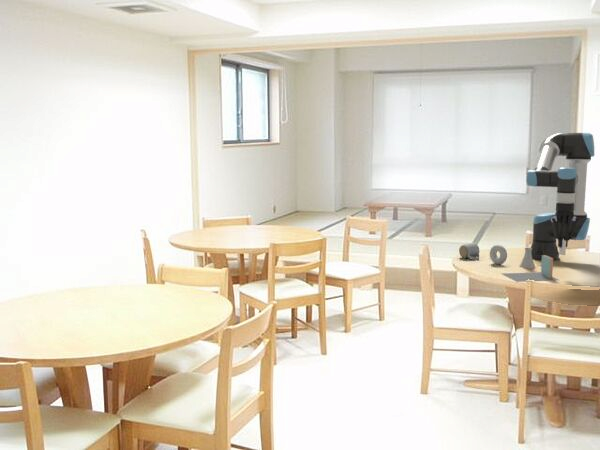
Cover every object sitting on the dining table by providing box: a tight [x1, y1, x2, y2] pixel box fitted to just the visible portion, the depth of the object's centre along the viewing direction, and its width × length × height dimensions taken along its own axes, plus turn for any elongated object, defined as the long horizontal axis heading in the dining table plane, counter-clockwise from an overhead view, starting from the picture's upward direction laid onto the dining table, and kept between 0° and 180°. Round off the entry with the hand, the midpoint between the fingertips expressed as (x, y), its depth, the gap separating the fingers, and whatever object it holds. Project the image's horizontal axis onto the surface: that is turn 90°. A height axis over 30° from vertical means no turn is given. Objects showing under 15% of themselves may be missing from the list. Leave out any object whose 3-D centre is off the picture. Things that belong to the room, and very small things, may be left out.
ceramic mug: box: [458, 242, 480, 261], centre depth 335 cm, size 11×8×8 cm
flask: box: [518, 247, 537, 269], centre depth 310 cm, size 7×7×10 cm
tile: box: [540, 255, 554, 278], centre depth 290 cm, size 2×7×9 cm, turn 8°
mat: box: [501, 271, 559, 283], centre depth 289 cm, size 20×16×1 cm
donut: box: [489, 244, 508, 265], centre depth 319 cm, size 10×3×10 cm, turn 32°
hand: (562, 254), depth 290 cm, fingers closed
